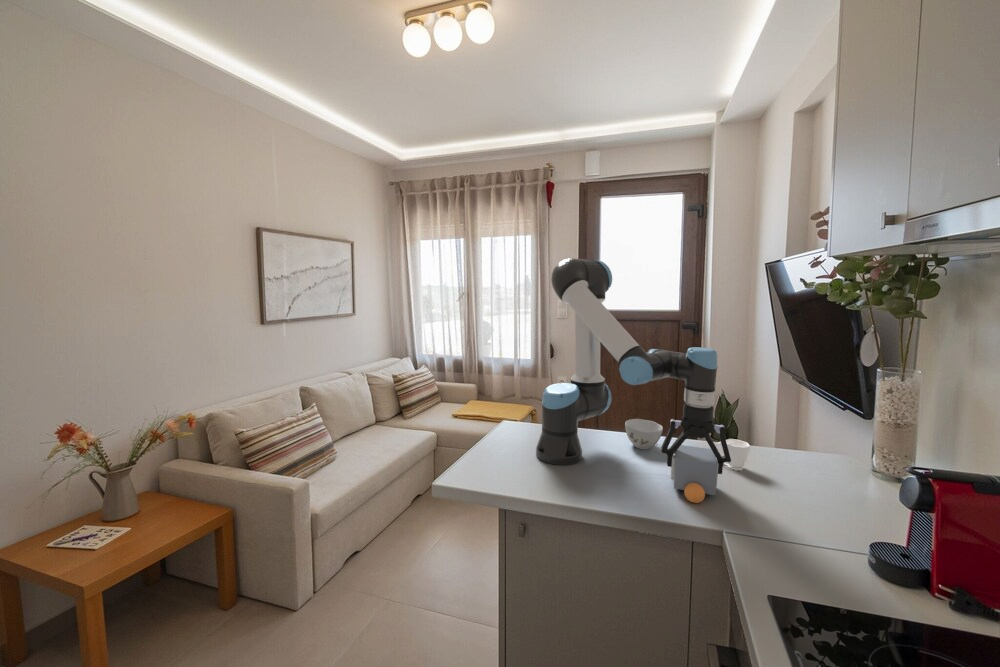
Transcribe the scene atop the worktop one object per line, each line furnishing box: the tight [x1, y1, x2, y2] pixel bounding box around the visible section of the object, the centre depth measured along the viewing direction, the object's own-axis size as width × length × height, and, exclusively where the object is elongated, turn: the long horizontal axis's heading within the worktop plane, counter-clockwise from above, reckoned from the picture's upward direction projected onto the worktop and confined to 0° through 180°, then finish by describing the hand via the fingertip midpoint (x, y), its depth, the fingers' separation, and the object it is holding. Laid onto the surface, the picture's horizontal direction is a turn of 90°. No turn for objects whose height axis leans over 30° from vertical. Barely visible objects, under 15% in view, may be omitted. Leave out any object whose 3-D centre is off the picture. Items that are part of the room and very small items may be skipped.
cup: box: [715, 438, 751, 471], centre depth 133 cm, size 7×10×8 cm
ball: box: [683, 483, 706, 504], centre depth 112 cm, size 5×5×5 cm
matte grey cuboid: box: [672, 444, 718, 496], centre depth 118 cm, size 10×10×9 cm
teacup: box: [624, 418, 663, 450], centre depth 149 cm, size 15×12×8 cm
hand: (692, 480), depth 119 cm, fingers closed on matte grey cuboid, 10 cm apart
